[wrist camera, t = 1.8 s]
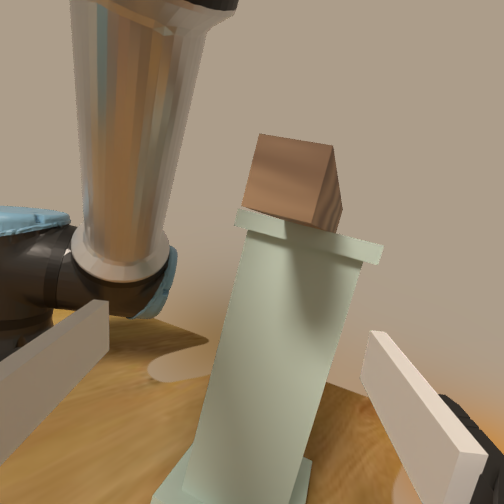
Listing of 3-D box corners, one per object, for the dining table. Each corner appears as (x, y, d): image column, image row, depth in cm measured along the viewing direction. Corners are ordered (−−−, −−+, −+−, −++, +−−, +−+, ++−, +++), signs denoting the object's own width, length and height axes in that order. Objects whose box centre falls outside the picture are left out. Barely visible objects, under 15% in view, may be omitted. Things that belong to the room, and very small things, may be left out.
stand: (287, 601, 23) (400, 249, 20) (149, 509, 28) (223, 204, 24) (309, 471, 37) (379, 246, 33) (213, 422, 41) (267, 217, 37)
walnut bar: (311, 223, 13) (332, 145, 13) (241, 205, 14) (259, 133, 14) (335, 235, 38) (342, 209, 37) (309, 228, 39) (316, 203, 38)
